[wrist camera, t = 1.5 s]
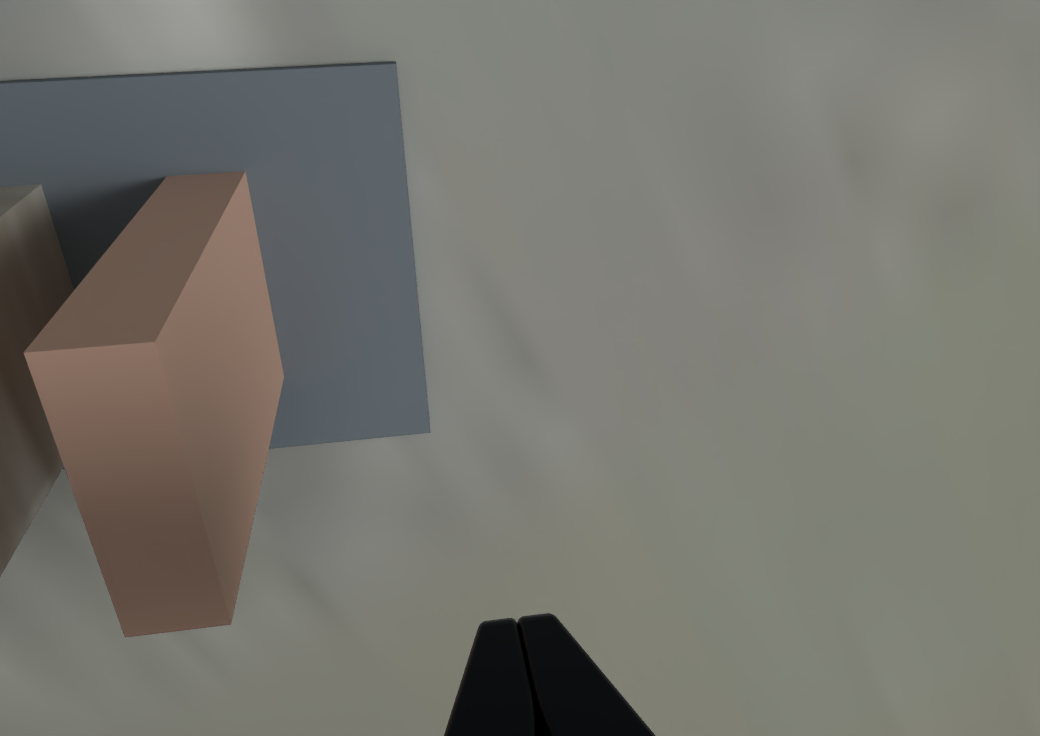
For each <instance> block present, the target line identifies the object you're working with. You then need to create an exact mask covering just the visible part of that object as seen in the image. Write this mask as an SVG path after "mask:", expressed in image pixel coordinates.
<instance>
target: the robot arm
mask: <svg viewBox="0 0 1040 736" xmlns="http://www.w3.org/2000/svg"><path fill="white" fill-rule="evenodd" d="M444 736H655V734H654V733H653V732H652V731H651V730H650V728H649V727H648V726H647V725H646V724H645V723H644V721H643V720H642V719H641V718H640V717H639V715H638V714H637V713H636V712H635V711H634V709H633V708H632V707H631V706H630V705H629V703H628V702H627V701H626V700H625V699H624V697H623V696H622V695H621V694H620V693H619V691H618V690H617V689H616V688H615V687H614V685H613V684H612V683H611V682H610V681H609V679H608V678H607V677H606V676H605V675H604V673H603V672H602V671H601V670H600V669H599V667H598V666H597V665H596V664H595V663H594V661H593V660H592V659H591V658H590V657H589V655H588V654H587V653H586V652H585V651H584V650H583V648H582V647H581V646H580V645H579V644H578V642H577V641H576V640H575V639H574V638H573V636H572V635H571V634H570V633H569V632H568V630H567V629H566V628H565V627H564V626H563V624H562V623H561V622H560V621H559V620H558V619H557V617H556V616H554V615H553V614H550V613H546V614H538V615H530V616H523V617H521V618H520V619H519V620H518V622H516V621H515V619H513V618H506V619H498V620H490V621H484V622H482V623H481V624H480V626H479V627H478V630H477V633H476V636H475V639H474V643H473V646H472V649H471V652H470V655H469V658H468V661H467V665H466V668H465V671H464V674H463V677H462V680H461V684H460V687H459V690H458V693H457V696H456V699H455V702H454V706H453V709H452V712H451V715H450V718H449V721H448V725H447V728H446V731H445V734H444Z"/></svg>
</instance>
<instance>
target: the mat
mask: <svg viewBox="0 0 1040 736" xmlns="http://www.w3.org/2000/svg"><path fill="white" fill-rule="evenodd" d="M243 171H246V177H247V182H248V187H249V193H250V198H251V203H252V209H253V214H254V219H255V225H256V230H257V235H258V241H259V246H260V251H261V257H262V262H263V267H264V272H265V278H266V283H267V288H268V294H269V299H270V304H271V310H272V315H273V320H274V326H275V331H276V336H277V342H278V347H279V352H280V358H281V363H282V368H283V374H284V380H283V384H282V389H281V394H280V398H279V403H278V408H277V412H276V417H275V422H274V426H273V431H272V436H271V440H270V445H269V449H270V448H280V447H290V446H300V445H311V444H321V443H331V442H341V441H351V440H361V439H371V438H381V437H391V436H401V435H411V434H421V433H430V422H429V412H428V401H427V390H426V379H425V369H424V358H423V347H422V336H421V326H420V315H419V304H418V294H417V283H416V272H415V261H414V251H413V240H412V229H411V218H410V208H409V197H408V186H407V176H406V165H405V154H404V143H403V133H402V122H401V111H400V100H399V90H398V79H397V68H396V62H376V63H356V64H336V65H316V66H296V67H275V68H255V69H235V70H215V71H195V72H175V73H155V74H135V75H115V76H95V77H75V78H55V79H35V80H15V81H0V187H5V186H20V185H36V184H41V186H42V189H43V192H44V195H45V198H46V202H47V205H48V208H49V211H50V215H51V218H52V221H53V224H54V227H55V231H56V234H57V237H58V240H59V244H60V247H61V250H62V253H63V256H64V260H65V263H66V266H67V269H68V273H69V276H70V279H71V282H72V285H73V289H74V290H75V289H76V288H77V286H78V285H79V284H80V283H81V281H82V280H83V279H84V278H85V277H86V275H87V274H88V273H89V272H90V270H91V269H92V268H93V267H94V265H95V264H96V263H97V262H98V261H99V259H100V258H101V257H102V256H103V254H104V253H105V252H106V251H107V249H108V248H109V247H110V246H111V245H112V243H113V242H114V241H115V240H116V238H117V237H118V236H119V235H120V233H121V232H122V231H123V230H124V229H125V227H126V226H127V225H128V224H129V222H130V221H131V220H132V219H133V218H134V216H135V215H136V214H137V213H138V211H139V210H140V209H141V208H142V206H143V205H144V204H145V203H146V202H147V200H148V199H149V198H150V197H151V195H152V194H153V193H154V192H155V190H156V189H157V188H158V187H159V186H160V184H161V183H162V182H163V181H164V179H165V178H166V177H167V176H179V175H195V174H211V173H227V172H243ZM62 469H65V468H64V467H63V468H62Z"/></svg>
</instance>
